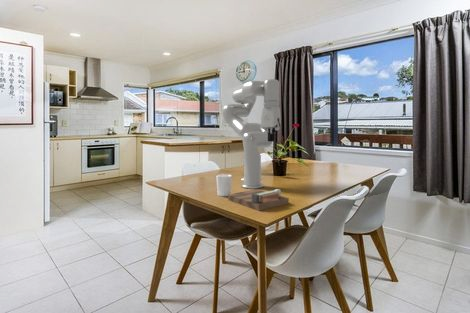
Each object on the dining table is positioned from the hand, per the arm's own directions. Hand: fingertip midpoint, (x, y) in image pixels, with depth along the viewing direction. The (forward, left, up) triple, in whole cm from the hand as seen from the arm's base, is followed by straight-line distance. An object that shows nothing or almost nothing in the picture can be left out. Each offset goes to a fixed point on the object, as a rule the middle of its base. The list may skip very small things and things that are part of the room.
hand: (271, 141), depth 146 cm
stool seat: (+8, -16, -27) cm, 32 cm away
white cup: (-12, -21, -27) cm, 36 cm away
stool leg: (+15, -17, -24) cm, 33 cm away
